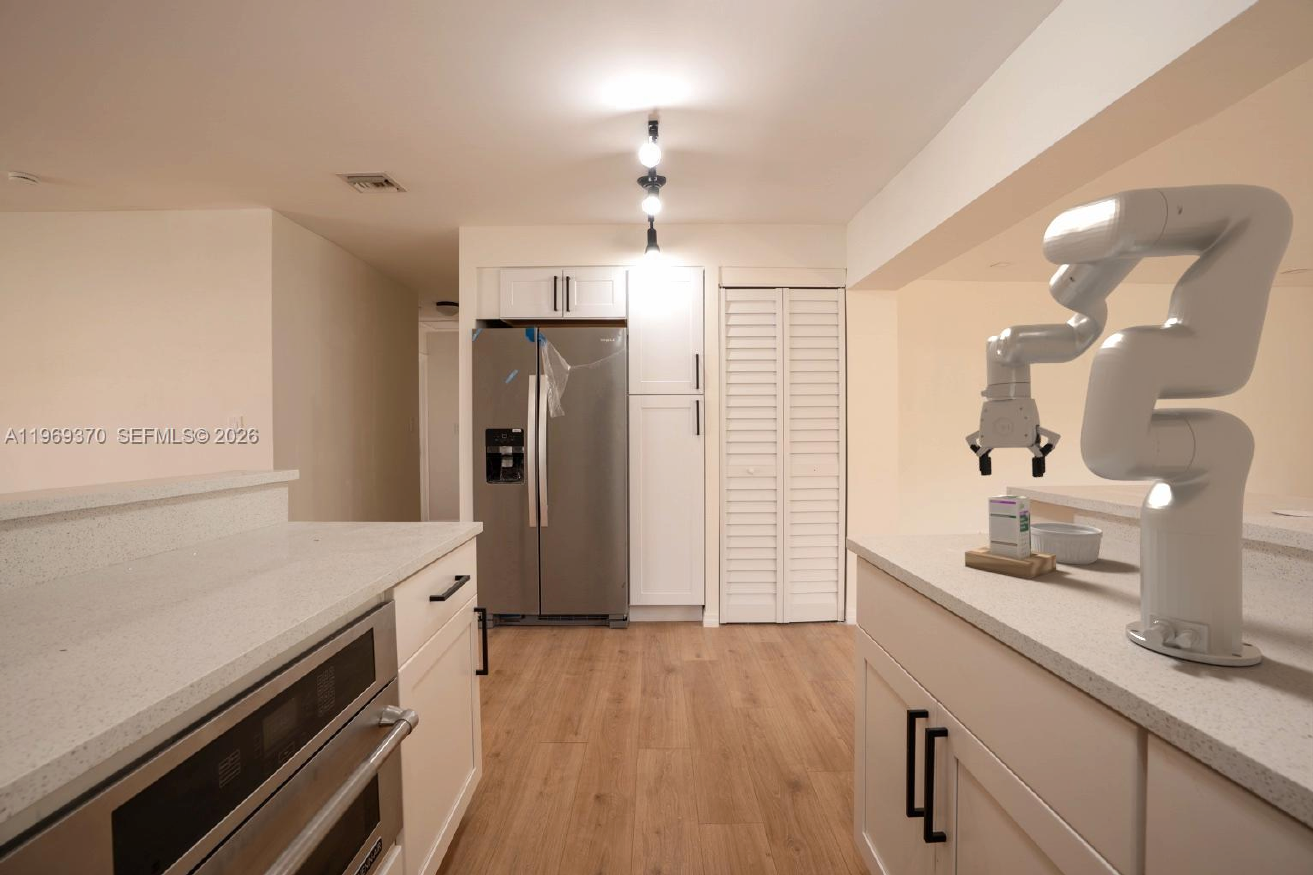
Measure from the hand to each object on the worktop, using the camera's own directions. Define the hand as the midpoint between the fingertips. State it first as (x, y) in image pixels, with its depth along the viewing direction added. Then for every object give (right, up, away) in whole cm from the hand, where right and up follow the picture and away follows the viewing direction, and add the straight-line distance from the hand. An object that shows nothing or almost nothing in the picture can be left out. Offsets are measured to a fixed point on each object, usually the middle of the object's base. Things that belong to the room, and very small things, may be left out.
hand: (1011, 476), depth 109 cm
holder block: (0, -19, +1) cm, 19 cm away
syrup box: (0, -19, +1) cm, 19 cm away
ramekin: (+17, -19, +8) cm, 27 cm away
